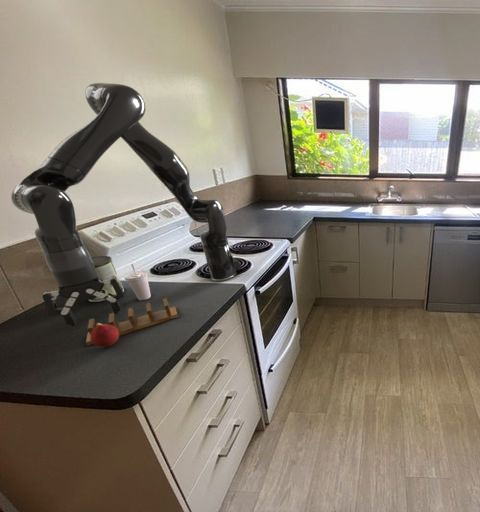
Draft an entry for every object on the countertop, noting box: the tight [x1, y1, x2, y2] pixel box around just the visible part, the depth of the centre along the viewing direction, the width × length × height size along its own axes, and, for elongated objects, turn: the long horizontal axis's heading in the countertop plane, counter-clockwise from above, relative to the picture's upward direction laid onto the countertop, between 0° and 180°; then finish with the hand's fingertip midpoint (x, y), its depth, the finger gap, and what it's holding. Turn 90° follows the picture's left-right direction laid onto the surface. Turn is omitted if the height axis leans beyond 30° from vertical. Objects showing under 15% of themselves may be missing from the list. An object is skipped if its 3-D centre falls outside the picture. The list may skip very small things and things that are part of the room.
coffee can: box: [88, 255, 125, 303], centre depth 107 cm, size 10×10×14 cm
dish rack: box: [85, 297, 179, 346], centre depth 90 cm, size 22×6×5 cm, turn 130°
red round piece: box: [90, 322, 120, 348], centre depth 81 cm, size 6×6×8 cm
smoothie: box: [124, 263, 152, 301], centre depth 105 cm, size 6×6×14 cm
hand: (96, 318), depth 79 cm, fingers open, 8 cm apart
